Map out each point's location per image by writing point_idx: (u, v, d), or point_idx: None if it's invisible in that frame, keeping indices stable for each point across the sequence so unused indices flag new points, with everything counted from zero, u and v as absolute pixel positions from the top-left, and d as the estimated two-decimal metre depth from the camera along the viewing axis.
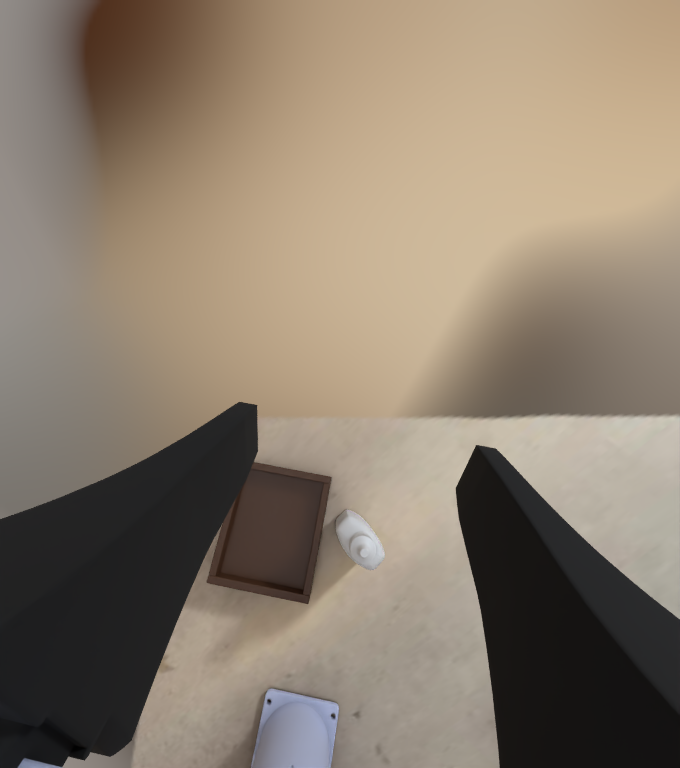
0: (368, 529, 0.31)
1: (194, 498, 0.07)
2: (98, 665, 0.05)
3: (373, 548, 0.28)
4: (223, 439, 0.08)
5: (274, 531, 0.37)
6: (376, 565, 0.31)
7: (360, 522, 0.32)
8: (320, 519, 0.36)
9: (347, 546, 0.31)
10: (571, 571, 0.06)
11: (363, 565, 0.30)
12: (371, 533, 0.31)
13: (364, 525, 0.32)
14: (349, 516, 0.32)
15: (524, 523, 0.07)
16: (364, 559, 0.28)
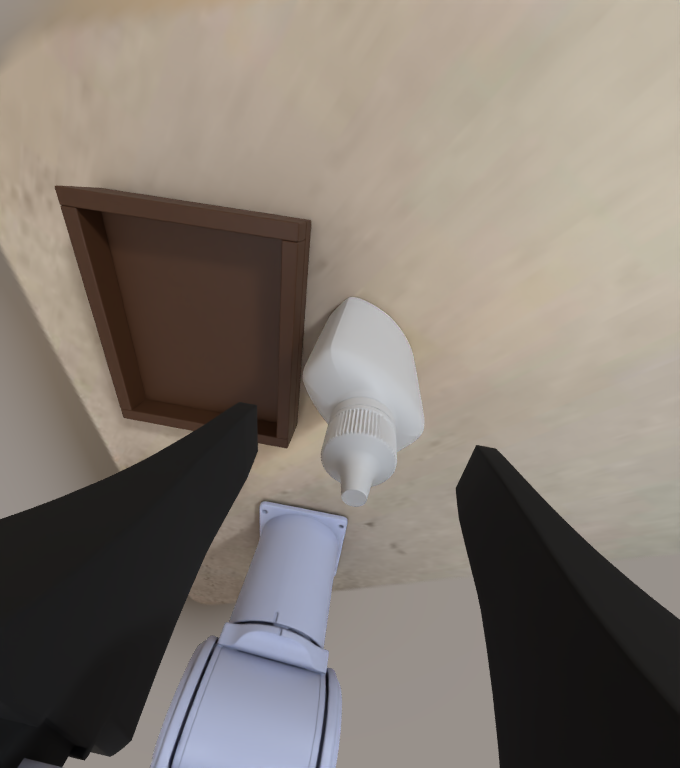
0: (385, 383, 0.11)
1: (194, 498, 0.07)
2: (98, 665, 0.05)
3: (389, 463, 0.09)
4: (223, 439, 0.08)
5: (209, 342, 0.19)
6: None
7: (363, 365, 0.11)
8: (287, 326, 0.16)
9: (328, 419, 0.12)
10: (571, 571, 0.06)
11: None
12: (392, 393, 0.11)
13: (374, 373, 0.11)
14: (334, 347, 0.11)
15: (525, 523, 0.07)
16: None
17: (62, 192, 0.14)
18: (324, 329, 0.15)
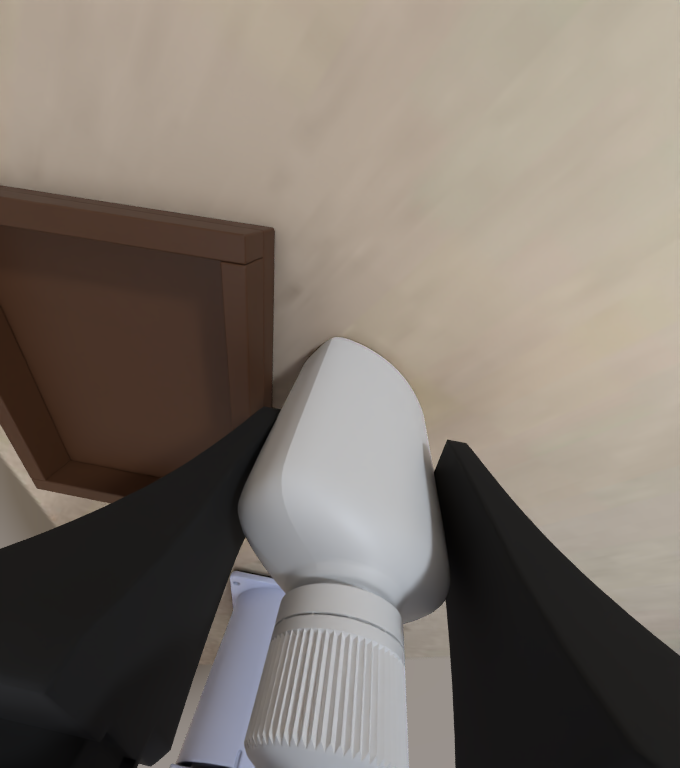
0: (383, 542, 0.06)
1: (228, 505, 0.07)
2: (148, 676, 0.05)
3: None
4: (254, 445, 0.08)
5: (141, 396, 0.14)
6: None
7: (343, 508, 0.06)
8: (239, 385, 0.11)
9: (282, 589, 0.07)
10: (520, 561, 0.06)
11: None
12: (398, 559, 0.06)
13: (363, 522, 0.06)
14: (289, 469, 0.06)
15: (483, 515, 0.07)
16: None
17: None
18: (290, 395, 0.10)
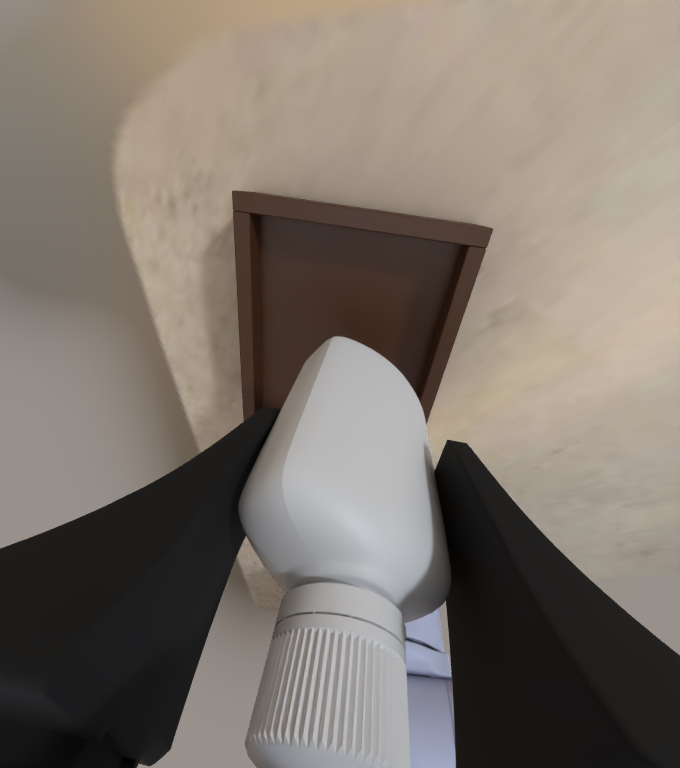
0: (384, 541, 0.06)
1: (228, 505, 0.07)
2: (148, 676, 0.05)
3: None
4: (254, 445, 0.08)
5: None
6: None
7: (344, 507, 0.06)
8: (450, 334, 0.16)
9: (283, 588, 0.07)
10: (521, 561, 0.06)
11: None
12: (399, 559, 0.06)
13: (364, 521, 0.06)
14: (290, 468, 0.06)
15: (483, 515, 0.07)
16: None
17: (239, 197, 0.14)
18: (291, 395, 0.10)
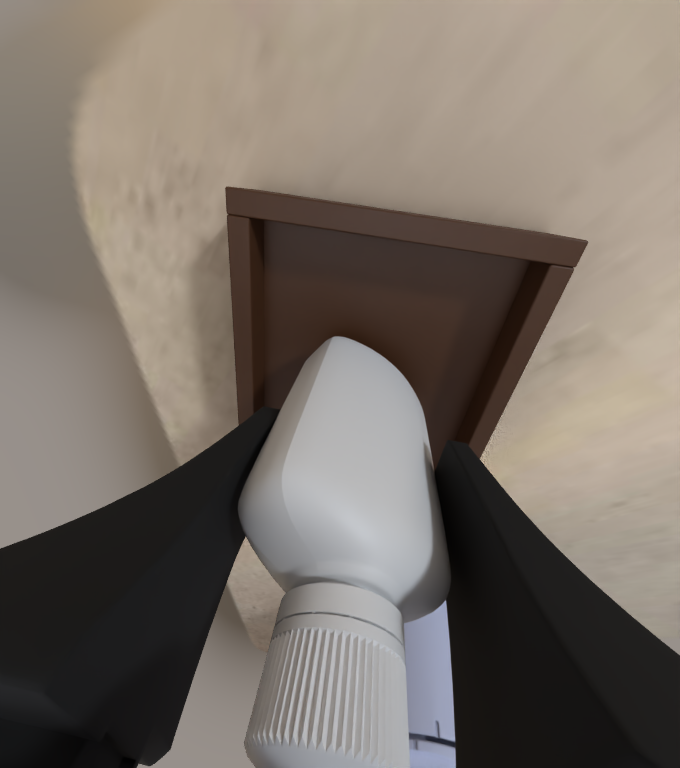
0: (384, 541, 0.06)
1: (228, 505, 0.07)
2: (148, 676, 0.05)
3: None
4: (254, 445, 0.08)
5: None
6: None
7: (343, 507, 0.06)
8: (511, 377, 0.12)
9: (282, 588, 0.07)
10: (521, 561, 0.06)
11: None
12: (398, 559, 0.06)
13: (364, 521, 0.06)
14: (289, 468, 0.06)
15: (484, 516, 0.07)
16: None
17: (235, 196, 0.10)
18: (291, 395, 0.10)
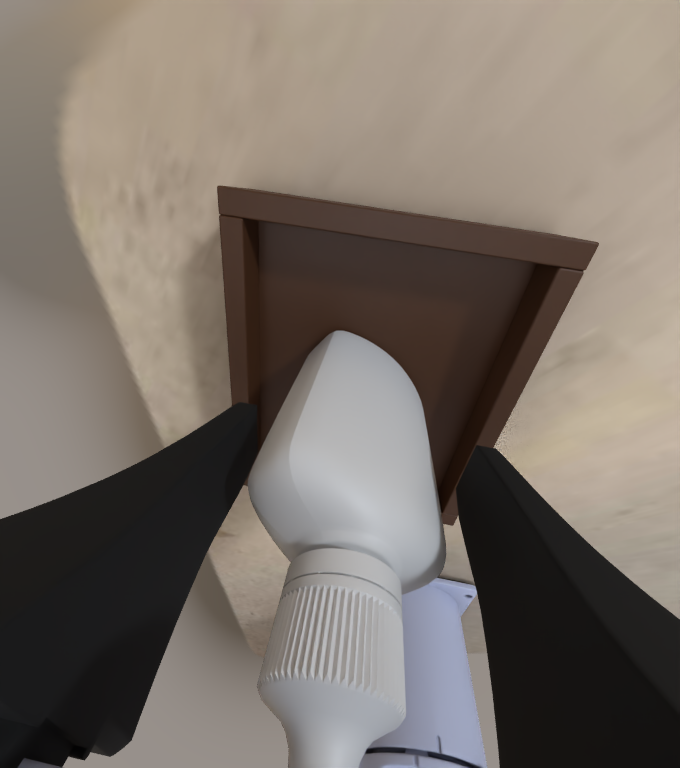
0: (383, 512, 0.06)
1: (194, 498, 0.07)
2: (98, 665, 0.05)
3: (390, 726, 0.05)
4: (223, 439, 0.08)
5: None
6: None
7: (346, 481, 0.06)
8: (516, 384, 0.12)
9: (289, 559, 0.07)
10: (571, 571, 0.06)
11: None
12: (396, 529, 0.07)
13: (365, 494, 0.06)
14: (296, 446, 0.07)
15: (524, 523, 0.07)
16: None
17: (228, 196, 0.10)
18: (295, 384, 0.10)
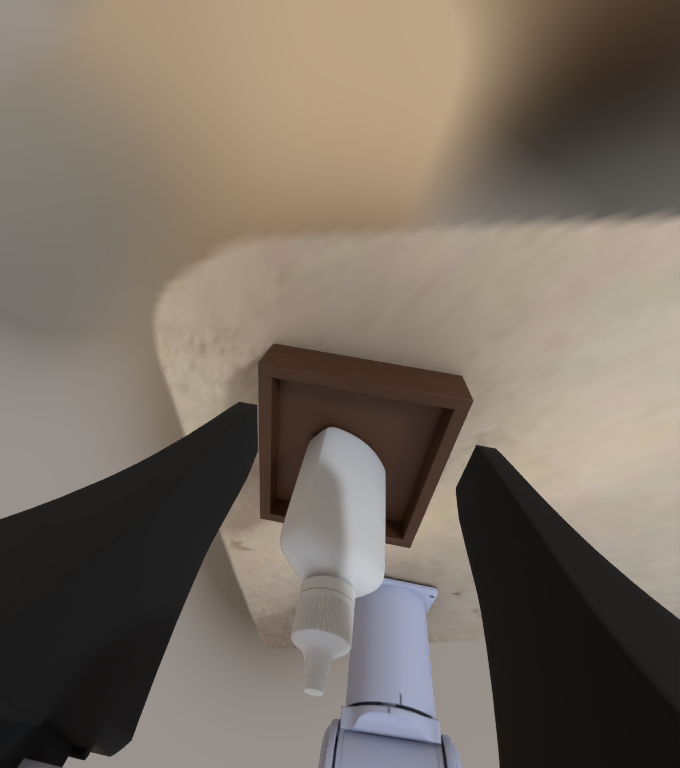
0: (347, 558, 0.14)
1: (194, 498, 0.07)
2: (98, 665, 0.05)
3: (344, 649, 0.12)
4: (223, 439, 0.08)
5: None
6: (365, 594, 0.15)
7: (329, 543, 0.14)
8: (439, 466, 0.19)
9: (301, 579, 0.14)
10: (571, 571, 0.06)
11: None
12: (353, 566, 0.14)
13: (338, 549, 0.14)
14: (305, 525, 0.14)
15: (524, 523, 0.07)
16: None
17: (264, 367, 0.17)
18: (302, 471, 0.18)
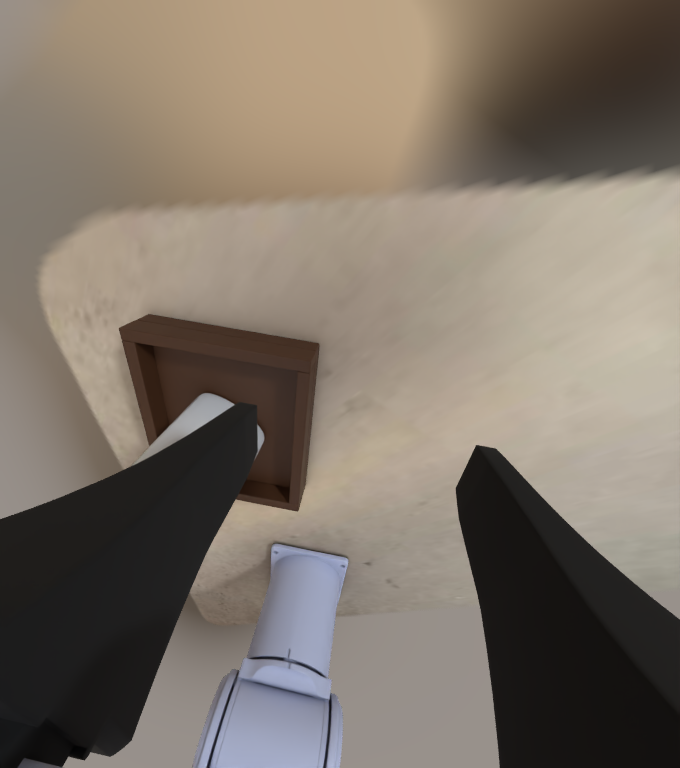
0: None
1: (194, 498, 0.07)
2: (98, 665, 0.05)
3: None
4: (223, 439, 0.08)
5: None
6: None
7: None
8: (299, 427, 0.20)
9: None
10: (571, 571, 0.06)
11: None
12: None
13: None
14: None
15: (524, 523, 0.07)
16: None
17: (124, 332, 0.18)
18: None
